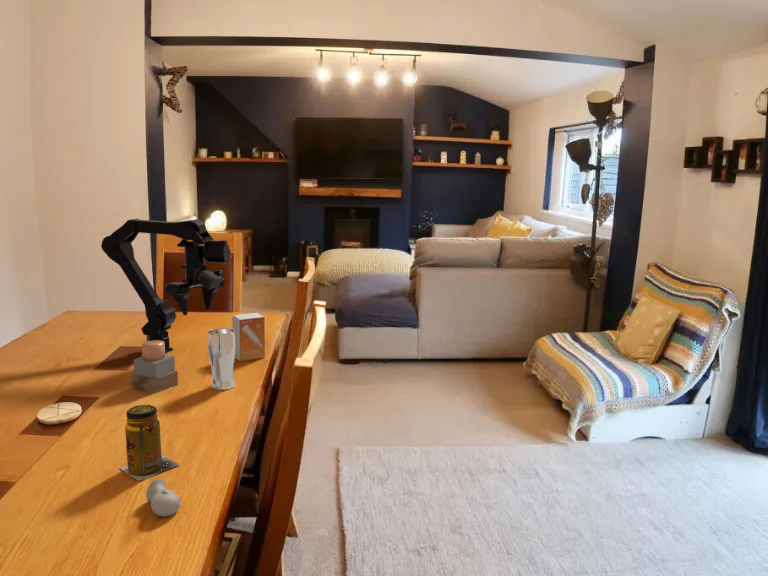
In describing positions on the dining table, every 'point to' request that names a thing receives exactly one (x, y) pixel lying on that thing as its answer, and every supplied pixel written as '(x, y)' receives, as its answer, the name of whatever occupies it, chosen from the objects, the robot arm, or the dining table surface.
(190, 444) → the dining table surface
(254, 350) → the small box
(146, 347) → the brown rounded cylinder
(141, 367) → the grey top block
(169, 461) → the condiment
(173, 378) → the walnut base block
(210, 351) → the beer glass
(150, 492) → the pale two-lobed sculpture
